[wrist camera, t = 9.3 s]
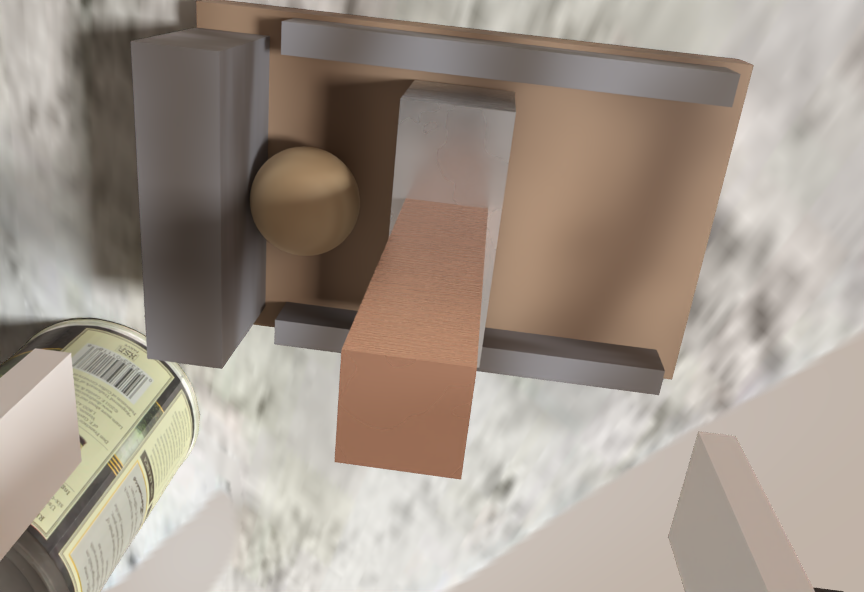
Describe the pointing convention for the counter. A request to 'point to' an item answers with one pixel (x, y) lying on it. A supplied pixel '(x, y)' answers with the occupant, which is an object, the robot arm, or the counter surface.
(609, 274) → the base
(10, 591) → the coffee can
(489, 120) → the sliding jaw
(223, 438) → the counter surface
